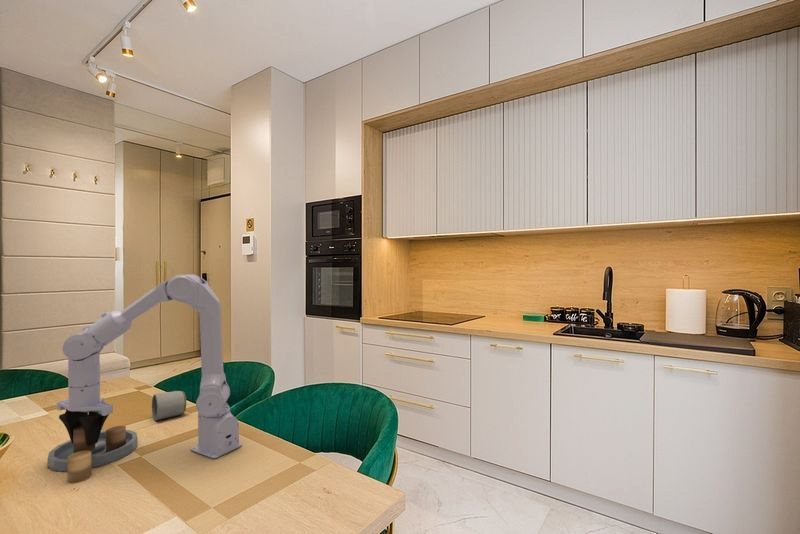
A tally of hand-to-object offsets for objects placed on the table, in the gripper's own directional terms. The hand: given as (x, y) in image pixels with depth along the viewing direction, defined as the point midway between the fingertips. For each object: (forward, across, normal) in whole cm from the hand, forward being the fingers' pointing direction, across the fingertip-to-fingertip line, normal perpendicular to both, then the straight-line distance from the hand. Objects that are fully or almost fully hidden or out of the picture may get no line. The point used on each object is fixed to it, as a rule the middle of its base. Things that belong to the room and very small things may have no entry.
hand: (85, 442), depth 91 cm
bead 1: (+1, 0, 0) cm, 1 cm away
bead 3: (+4, -2, -6) cm, 7 cm away
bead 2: (+5, -6, +5) cm, 9 cm away
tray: (+5, +2, -4) cm, 7 cm away
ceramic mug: (+5, +6, -29) cm, 30 cm away
